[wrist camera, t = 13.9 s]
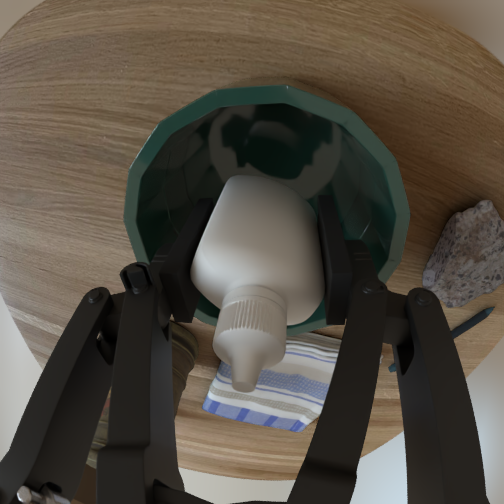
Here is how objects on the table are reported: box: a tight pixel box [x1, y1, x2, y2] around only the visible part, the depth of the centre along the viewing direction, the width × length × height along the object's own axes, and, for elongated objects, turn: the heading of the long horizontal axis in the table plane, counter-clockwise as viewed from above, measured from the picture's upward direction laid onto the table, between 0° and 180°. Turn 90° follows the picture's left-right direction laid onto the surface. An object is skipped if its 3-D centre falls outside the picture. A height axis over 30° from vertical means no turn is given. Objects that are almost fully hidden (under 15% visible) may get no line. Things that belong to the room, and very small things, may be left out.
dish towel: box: [202, 332, 383, 432], centre depth 37 cm, size 17×24×3 cm
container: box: [86, 321, 198, 469], centre depth 28 cm, size 9×9×18 cm
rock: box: [422, 200, 504, 308], centre depth 22 cm, size 9×11×4 cm
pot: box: [123, 77, 411, 336], centre depth 19 cm, size 15×15×9 cm
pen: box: [389, 306, 495, 372], centre depth 31 cm, size 1×16×1 cm, turn 136°
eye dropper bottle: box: [190, 175, 325, 393], centre depth 13 cm, size 4×6×12 cm
